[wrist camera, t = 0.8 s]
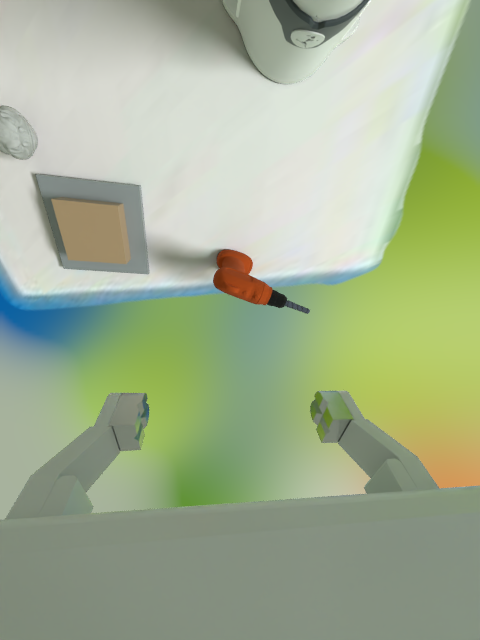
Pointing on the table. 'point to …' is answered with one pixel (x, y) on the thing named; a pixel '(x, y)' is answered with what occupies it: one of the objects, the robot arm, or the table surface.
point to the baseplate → (99, 194)
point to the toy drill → (246, 282)
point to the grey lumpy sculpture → (16, 134)
